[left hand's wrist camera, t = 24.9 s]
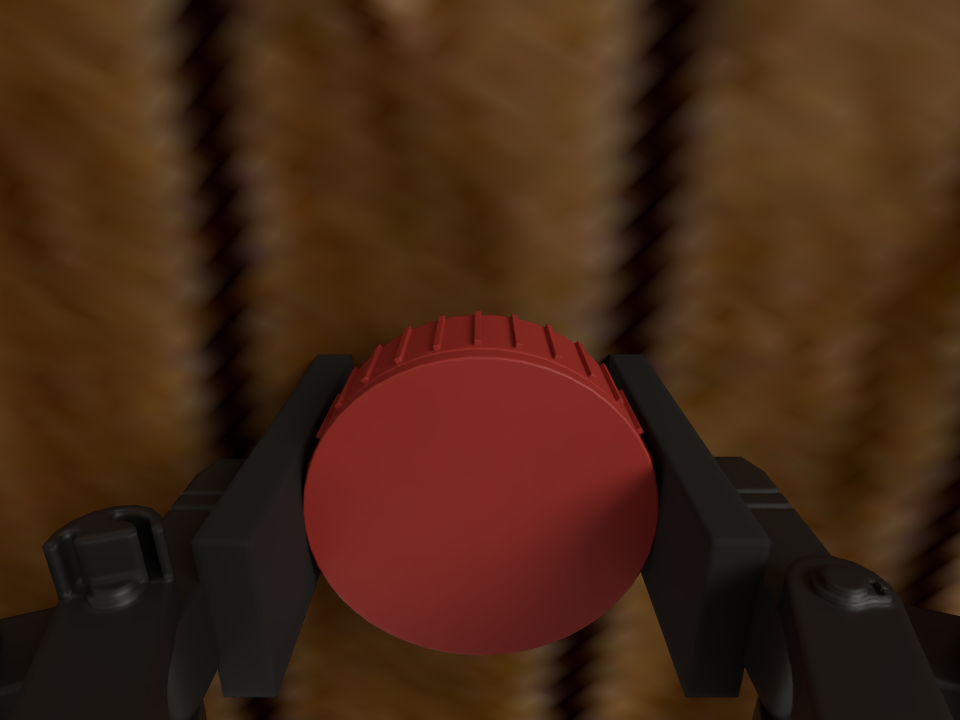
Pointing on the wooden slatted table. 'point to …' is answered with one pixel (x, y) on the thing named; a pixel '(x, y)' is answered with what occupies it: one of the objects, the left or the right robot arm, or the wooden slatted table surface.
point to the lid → (480, 488)
